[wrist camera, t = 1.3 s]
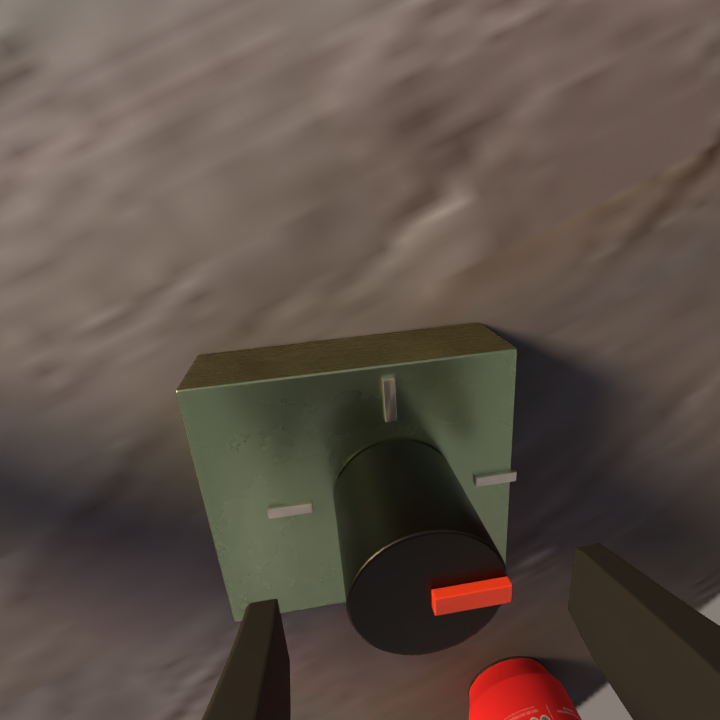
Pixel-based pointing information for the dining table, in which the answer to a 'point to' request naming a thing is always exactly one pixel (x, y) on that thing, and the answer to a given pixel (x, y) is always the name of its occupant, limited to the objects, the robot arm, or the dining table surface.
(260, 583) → the panel
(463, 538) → the oven knob
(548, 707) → the beverage can
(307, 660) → the dining table surface
